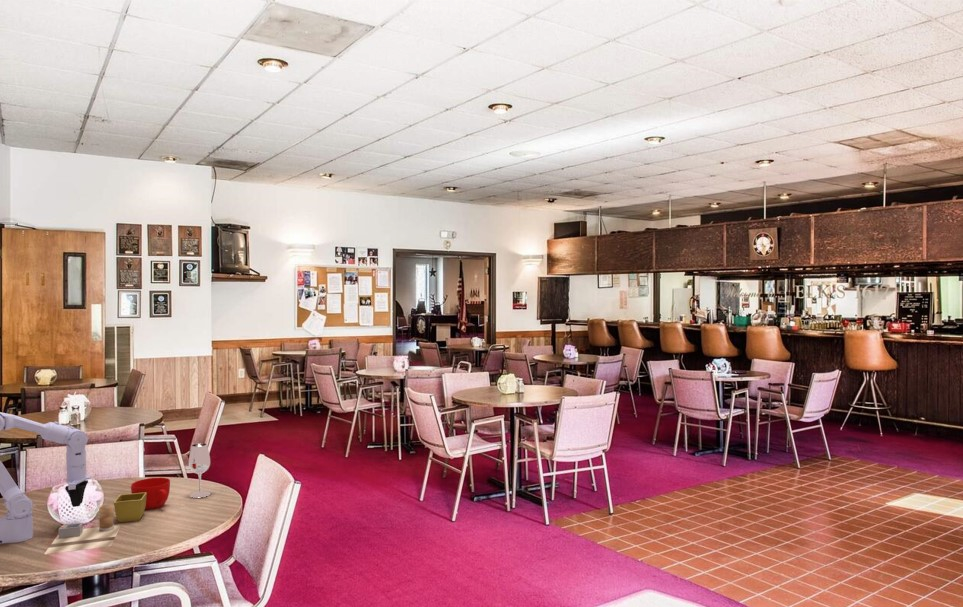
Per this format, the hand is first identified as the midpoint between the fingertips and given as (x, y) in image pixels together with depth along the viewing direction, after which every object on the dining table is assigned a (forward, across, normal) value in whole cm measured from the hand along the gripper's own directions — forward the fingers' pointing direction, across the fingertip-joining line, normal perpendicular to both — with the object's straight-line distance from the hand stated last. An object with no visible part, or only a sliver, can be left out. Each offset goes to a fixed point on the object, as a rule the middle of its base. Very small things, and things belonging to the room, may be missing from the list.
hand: (77, 504), depth 227 cm
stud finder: (+7, -10, 0) cm, 12 cm away
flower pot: (+9, +1, -16) cm, 18 cm away
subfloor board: (+8, -15, -5) cm, 18 cm away
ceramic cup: (+9, +12, -22) cm, 26 cm away
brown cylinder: (+7, -8, -10) cm, 15 cm away
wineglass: (+9, +25, -37) cm, 45 cm away
